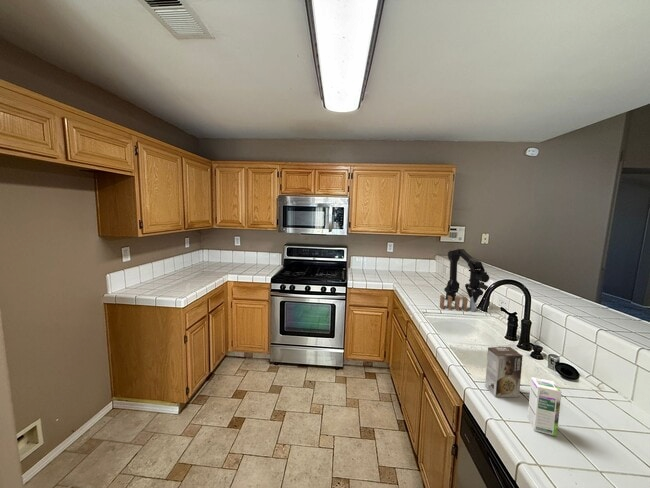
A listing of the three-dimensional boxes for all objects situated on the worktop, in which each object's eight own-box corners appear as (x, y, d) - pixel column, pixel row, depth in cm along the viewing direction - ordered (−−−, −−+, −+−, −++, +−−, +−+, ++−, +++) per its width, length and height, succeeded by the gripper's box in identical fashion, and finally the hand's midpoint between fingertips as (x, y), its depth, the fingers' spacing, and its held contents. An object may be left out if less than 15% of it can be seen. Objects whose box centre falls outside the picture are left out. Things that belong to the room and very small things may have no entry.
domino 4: (463, 311, 184) (464, 298, 183) (461, 308, 189) (462, 296, 188) (466, 311, 184) (467, 298, 183) (464, 309, 189) (465, 296, 188)
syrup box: (533, 431, 80) (538, 386, 79) (526, 417, 86) (531, 375, 84) (557, 437, 78) (562, 391, 77) (548, 422, 84) (553, 380, 82)
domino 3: (456, 310, 185) (457, 298, 184) (454, 308, 190) (455, 296, 189) (459, 310, 185) (459, 298, 184) (457, 308, 190) (457, 296, 189)
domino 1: (441, 309, 187) (441, 297, 187) (439, 306, 192) (440, 295, 191) (443, 309, 187) (444, 297, 186) (442, 307, 192) (443, 295, 191)
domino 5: (471, 311, 183) (472, 299, 182) (469, 309, 188) (470, 297, 187) (474, 312, 183) (475, 299, 182) (472, 309, 188) (473, 297, 187)
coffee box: (506, 386, 102) (510, 346, 100) (519, 397, 95) (524, 355, 94) (483, 386, 101) (487, 346, 100) (495, 397, 95) (499, 355, 93)
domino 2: (448, 309, 186) (449, 297, 186) (446, 307, 191) (447, 295, 190) (451, 310, 186) (452, 297, 185) (449, 307, 191) (450, 295, 190)
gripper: (492, 282, 172) (490, 306, 174) (482, 276, 190) (480, 297, 192) (474, 281, 175) (472, 304, 176) (465, 275, 193) (464, 296, 194)
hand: (472, 300), depth 185 cm, fingers open, 9 cm apart
